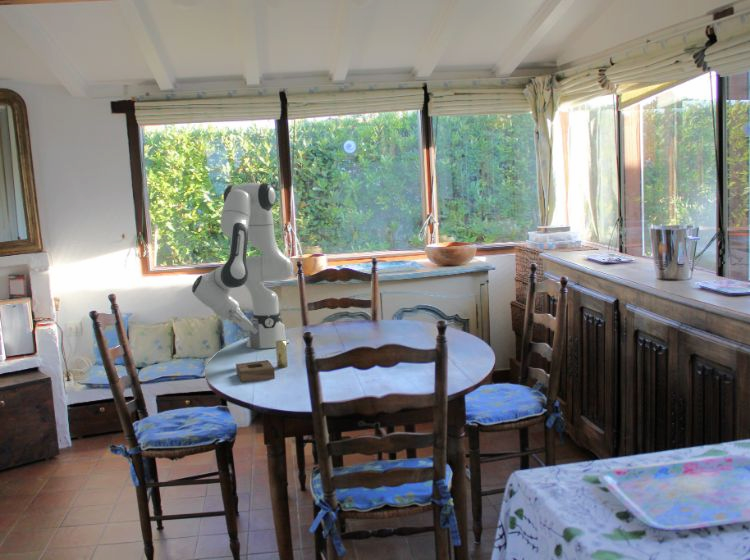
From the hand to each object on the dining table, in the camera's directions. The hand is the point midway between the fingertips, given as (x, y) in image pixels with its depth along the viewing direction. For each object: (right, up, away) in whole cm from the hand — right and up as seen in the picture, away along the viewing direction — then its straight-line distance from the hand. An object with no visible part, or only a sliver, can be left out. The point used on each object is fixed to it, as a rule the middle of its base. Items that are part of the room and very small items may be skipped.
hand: (255, 330), depth 282 cm
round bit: (+11, -14, -3) cm, 18 cm away
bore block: (+3, -16, -15) cm, 22 cm away
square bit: (0, -6, +1) cm, 6 cm away
